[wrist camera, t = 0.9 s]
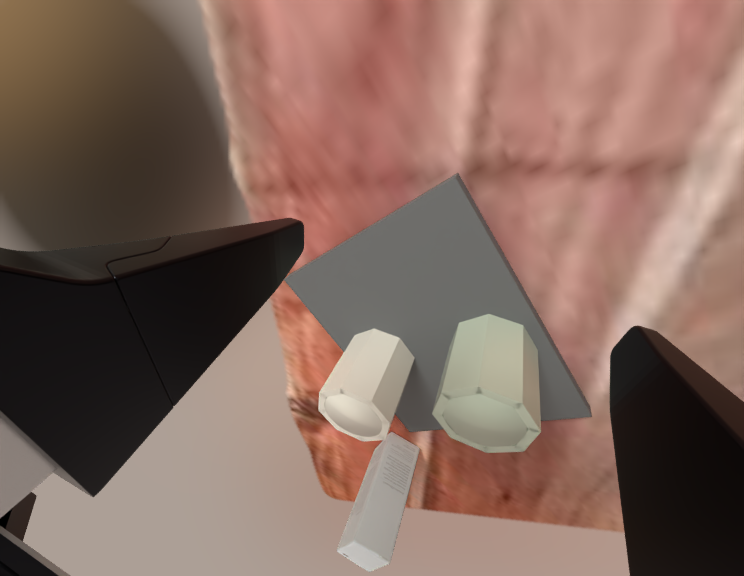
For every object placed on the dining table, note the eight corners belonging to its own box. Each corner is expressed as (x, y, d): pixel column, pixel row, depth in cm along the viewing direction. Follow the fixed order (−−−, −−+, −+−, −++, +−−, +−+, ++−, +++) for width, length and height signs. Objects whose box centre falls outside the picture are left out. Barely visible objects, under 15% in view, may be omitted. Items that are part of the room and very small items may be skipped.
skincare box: (402, 464, 43) (369, 573, 34) (374, 447, 43) (334, 551, 34) (422, 447, 39) (391, 566, 30) (391, 429, 39) (351, 541, 30)
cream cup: (424, 371, 30) (402, 438, 25) (376, 381, 34) (348, 442, 28) (388, 323, 28) (357, 384, 23) (342, 339, 32) (305, 395, 27)
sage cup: (547, 366, 25) (553, 450, 19) (474, 379, 28) (462, 453, 23) (512, 306, 23) (508, 381, 18) (439, 328, 27) (418, 396, 21)
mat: (589, 406, 27) (591, 416, 26) (412, 424, 37) (409, 432, 36) (458, 173, 20) (455, 177, 20) (289, 274, 31) (283, 279, 30)
